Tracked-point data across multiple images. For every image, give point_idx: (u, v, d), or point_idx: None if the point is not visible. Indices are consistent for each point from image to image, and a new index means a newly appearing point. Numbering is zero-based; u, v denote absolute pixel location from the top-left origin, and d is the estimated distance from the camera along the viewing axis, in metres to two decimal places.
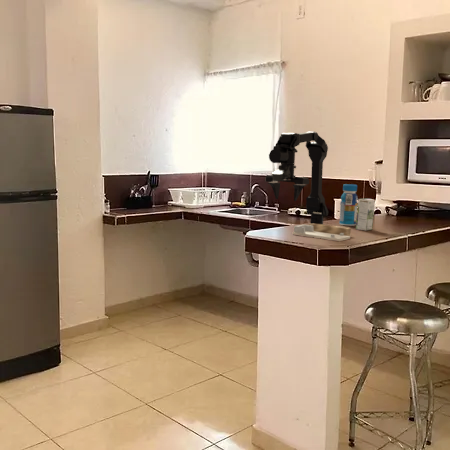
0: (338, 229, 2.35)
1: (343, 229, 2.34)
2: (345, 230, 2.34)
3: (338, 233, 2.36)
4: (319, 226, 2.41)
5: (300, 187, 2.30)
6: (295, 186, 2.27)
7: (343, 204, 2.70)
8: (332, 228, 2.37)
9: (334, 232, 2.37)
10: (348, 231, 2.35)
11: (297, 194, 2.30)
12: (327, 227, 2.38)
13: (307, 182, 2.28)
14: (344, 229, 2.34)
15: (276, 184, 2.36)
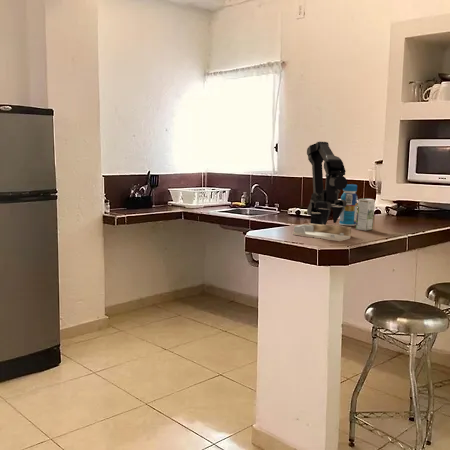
0: (339, 229, 2.36)
1: (345, 229, 2.35)
2: (347, 230, 2.35)
3: None
4: (319, 226, 2.40)
5: (326, 211, 2.34)
6: None
7: None
8: (333, 228, 2.37)
9: (335, 232, 2.37)
10: (349, 231, 2.36)
11: (323, 218, 2.35)
12: (328, 227, 2.38)
13: (322, 206, 2.31)
14: (346, 229, 2.35)
15: (335, 208, 2.43)
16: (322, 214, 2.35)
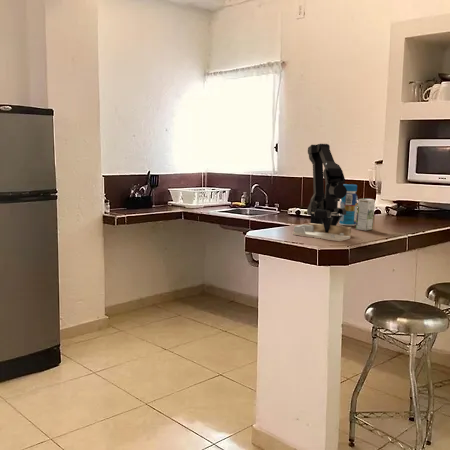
0: (339, 229, 2.36)
1: (344, 229, 2.35)
2: (346, 229, 2.34)
3: (339, 233, 2.36)
4: (319, 226, 2.40)
5: (328, 219, 2.36)
6: None
7: (343, 204, 2.70)
8: (333, 228, 2.37)
9: (335, 232, 2.37)
10: (349, 230, 2.35)
11: (325, 226, 2.37)
12: None
13: (322, 215, 2.31)
14: (345, 229, 2.34)
15: (333, 217, 2.42)
16: (324, 222, 2.37)
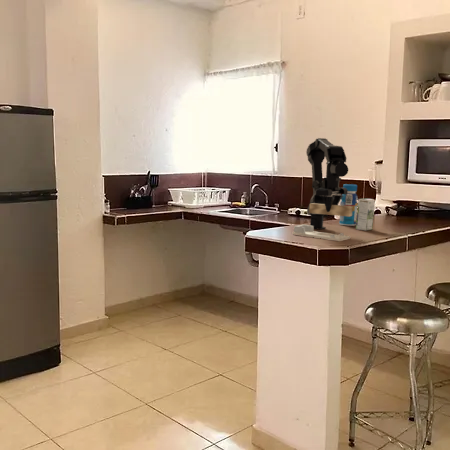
0: (340, 208, 2.34)
1: (346, 208, 2.33)
2: (348, 209, 2.33)
3: (340, 212, 2.35)
4: (320, 205, 2.39)
5: (329, 198, 2.34)
6: None
7: (343, 204, 2.70)
8: (334, 207, 2.36)
9: (336, 211, 2.36)
10: (350, 210, 2.34)
11: (327, 205, 2.36)
12: None
13: (323, 194, 2.30)
14: (347, 208, 2.33)
15: (334, 196, 2.40)
16: (325, 201, 2.36)
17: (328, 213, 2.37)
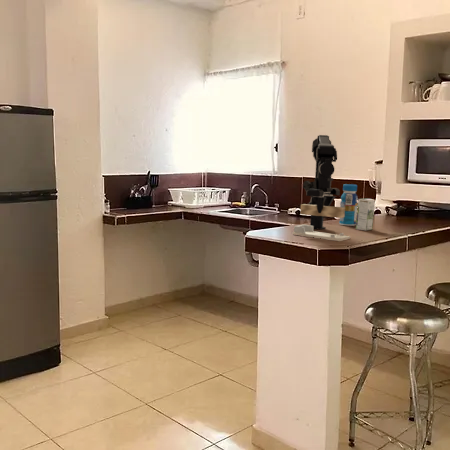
0: (332, 209, 2.27)
1: (338, 209, 2.26)
2: (340, 210, 2.26)
3: (332, 213, 2.27)
4: (312, 206, 2.32)
5: (321, 199, 2.27)
6: None
7: (343, 204, 2.70)
8: (326, 208, 2.29)
9: (328, 212, 2.28)
10: (343, 211, 2.27)
11: (318, 206, 2.29)
12: None
13: (315, 194, 2.23)
14: (339, 209, 2.26)
15: (326, 197, 2.33)
16: (317, 202, 2.29)
17: (320, 214, 2.30)
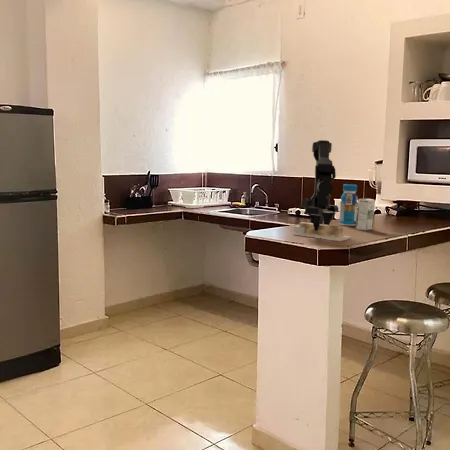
0: (330, 228, 2.28)
1: (335, 228, 2.27)
2: (337, 229, 2.26)
3: (330, 232, 2.28)
4: (310, 225, 2.33)
5: (317, 217, 2.27)
6: None
7: (343, 204, 2.70)
8: (324, 227, 2.30)
9: (326, 231, 2.29)
10: (340, 230, 2.28)
11: (315, 224, 2.28)
12: None
13: (313, 212, 2.23)
14: (336, 228, 2.27)
15: (326, 214, 2.35)
16: (313, 220, 2.28)
17: (318, 233, 2.31)
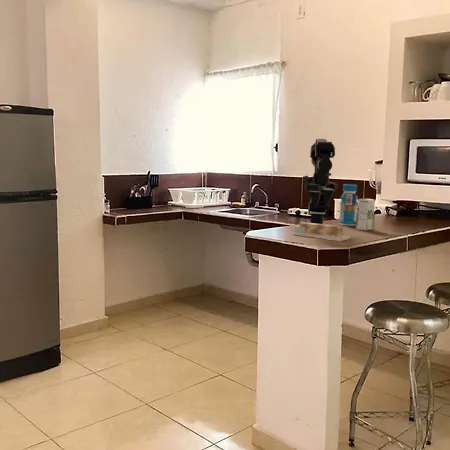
0: (330, 228, 2.28)
1: (335, 228, 2.27)
2: (337, 229, 2.26)
3: (330, 232, 2.28)
4: (310, 225, 2.33)
5: (316, 194, 2.35)
6: None
7: (343, 204, 2.70)
8: (324, 227, 2.30)
9: (326, 231, 2.29)
10: (340, 230, 2.28)
11: (314, 200, 2.37)
12: (318, 226, 2.31)
13: (313, 189, 2.32)
14: (336, 228, 2.27)
15: (326, 191, 2.45)
16: (313, 197, 2.37)
17: (318, 233, 2.31)
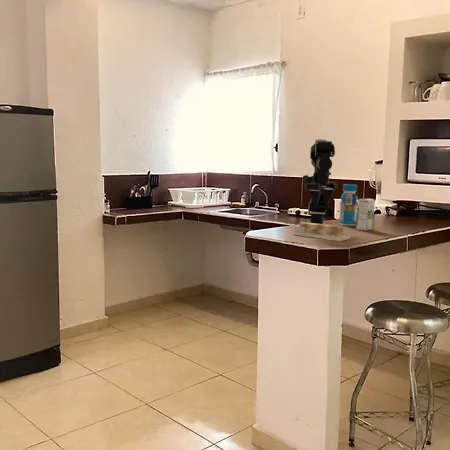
0: (330, 228, 2.28)
1: (335, 228, 2.27)
2: (337, 229, 2.26)
3: (330, 232, 2.28)
4: (310, 225, 2.33)
5: (316, 193, 2.35)
6: None
7: (343, 204, 2.70)
8: (324, 227, 2.30)
9: (326, 231, 2.29)
10: (340, 230, 2.28)
11: (314, 199, 2.37)
12: (318, 226, 2.31)
13: (313, 188, 2.33)
14: (336, 228, 2.27)
15: (326, 191, 2.45)
16: (313, 196, 2.37)
17: (318, 233, 2.31)
